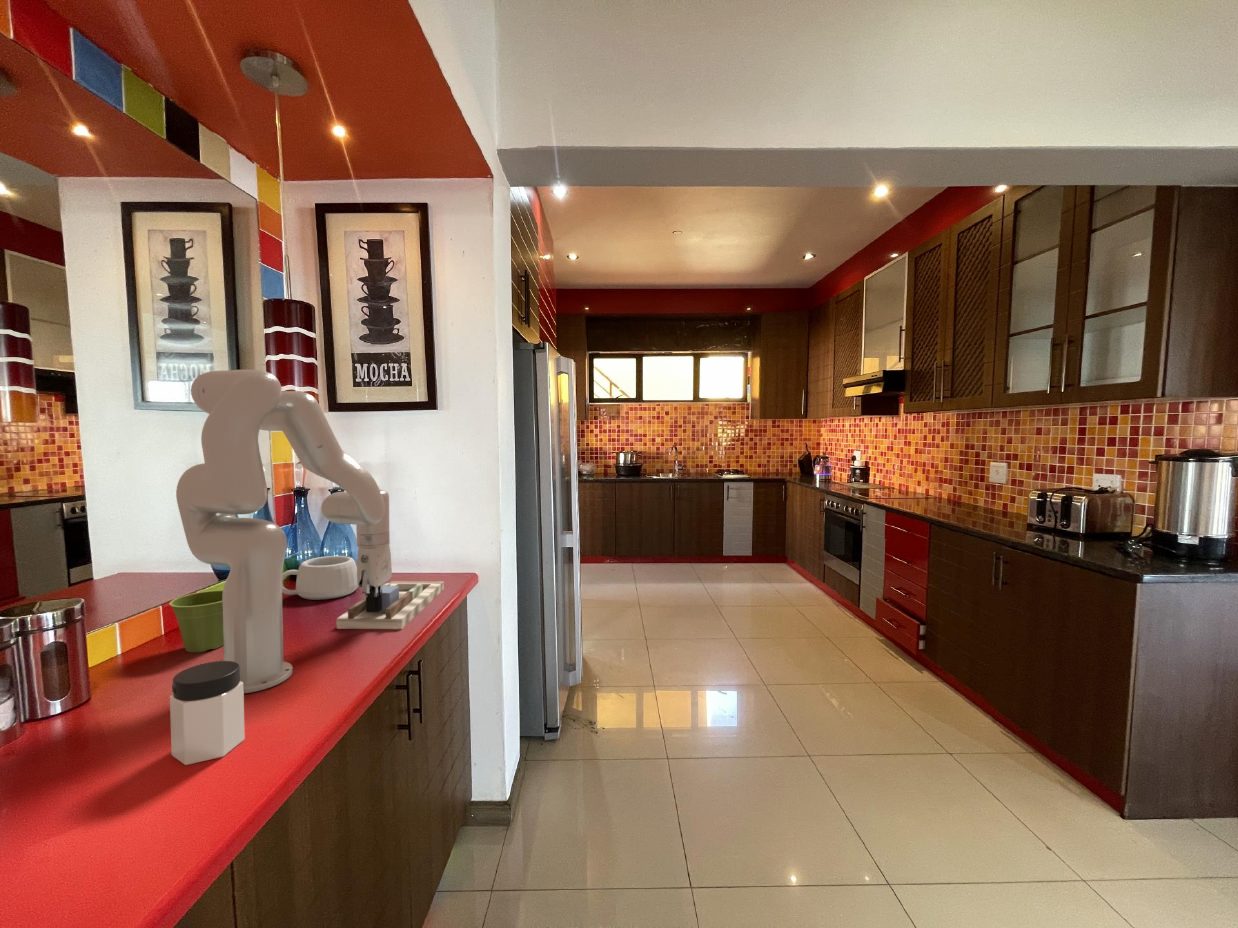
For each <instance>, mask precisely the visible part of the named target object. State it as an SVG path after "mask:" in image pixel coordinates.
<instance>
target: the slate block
mask: <svg viewBox="0 0 1238 928" xmlns="http://www.w3.org/2000/svg"><path fill="white" fill-rule="evenodd" d="M380 595H382V610H380V611H379V612H386V608H388V607H389V606H390V605H391V604H393V603H394V602H395V601H397V600H398V599H399V586H383V588H382V594H380ZM366 612H367V611H366Z"/></svg>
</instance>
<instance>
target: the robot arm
mask: <svg viewBox="0 0 1238 928" xmlns="http://www.w3.org/2000/svg"><path fill="white" fill-rule="evenodd" d="M190 394H191V399H192V400H193V401H194V403H195V404H196V406H197V407H198V408H199V409H201V410H202V411H203V412H205V413H206V414H208V416H207V418H206V419H205V421H204V423H203V425H202V430H201V436H200V437H201V439H200V440H201V448H202V453H203V460H204V463H200V464H199V463H197V464H196V465H192V466H191V467H190V468H188V469H186V470H185V471H184V472H183V473H182V475H181V476H180V478H179V480H178V482H177V486H176V490H175V491H176V492H175V496H176V502H177V503H176V504H177V507H178V513H179V515H180V519H181V523H182V528H183V531H184V535H185V539H186V542H187V543H186V544H187V545H188V548H189V550H190V552H191V554H192V555H193V556H194V557H195V558H196V559H197V560H198V561H199V562H201V563H204V564H207V565H212V566H220V567H227V568H230V569H229V570H230V571H229V573H228V576H227V578H226V580H225V583H224V584H223V589H222V590H223V594H222V606H223V638H224V645H223V659H220V660H219V661H232V662H236V663H238V664H239V666H240V681H241V682H243V692H244V694H249V693H255V692H259V691H260V692H261V691H263V690H268V689H269V688H273V687H274V686H278V685H279V684H281V683H283V682H285V681H287V680H288V679H289V678H290V677H291V676H292V674H293V669H294V668H293V665H292V664H291V663H289V662H287V661H284V635H283V634H284V633H283V632H284V628H283V625H284V624H283V623H284V622H283V593H282V574H283V569H284V562H285V557H286V552H287V548H288V547H287V546H288V540H287V539H288V538H287V536H286V534H285V533H286V532H285V531H284V530H283V529H282V528H281V527H280V526H279V525H278V524H276V523H275V522H273V521H270V520H266V519H263V518H262V519H261V518H251V517H249V518H248V517H238V516H237V517H236V515H248V514H249V515H250V514H253V513H256V512H258V511H260V510H261V509H262V508H263V507H265V505H266V503H267V501H268V494H269V493H268V485H267V481H266V475H265V471H264V467H263V461H262V457H261V452H260V444H259V434H260V431H268V432H269V431H270V432H282V433H283V435H284V436H285V438H286V439H287V441H288V443H289V445H290V446H291V448H292V450H293V452H294V454H295V455H296V457H297V459H298V461H299V462H300V464H301V466H302V467H303V468H304V469H305V470H306V471H309V472H310V473H312V474H314V475H316V476H318V477H320V478H323V479H325V480H327V481H330V482H331V483H334V484H336V485H337V486H338V487H339V488H341V489H342V490H344V491H336V492H333V493H331V494H329V495H327V496H326V497H325V498H324V499H323V501H322V503H321V509H320V510H321V514H322V516H323V517H324V518H325V519H326V520H327V521H328V522H331V523H335V524H340V525H341V524H342V525H356V526H355V527H356V547H357V548H358V549H357V558H356V559H357V561H356V566H357V584H358V587H359V588H361V594H364V595H365V597H366V611H367V612H379V611H380V610H382V595H380V594H382V588H383V585H384V584H386V582H388V581H389V580H391V578H392V576H393V571H392V570H393V569H392V555H391V547H390V543H391V541H390V539H391V538H390V535H391V534H390V494H389V492H388V491H387V490H385V489H380V487H379V486H378V483H377V481H376V480H375V478H374V477H373V476H372V474H370V472H369V471H368V470H367V469H366V468H365V467H364V466H362V465H361V464H360V463H359V462H358V461H356V460H355V459H354V458H353V457H352V456H350V455H349V454H347V453H346V452H345V451H344V450H343V449H342V447H341V445H340V444H339V441H338V438H337V437H336V436H335V434H334V431H333V430H332V428H331V426H330V423H329V421H328V420H327V418H326V415H325V414H324V411H323V410H322V407H321V406H320V403H319V402H318V400H317V399H316V397H314V396H313V395H311V394H310V393H308V392H304V391H295V390H291V391H290V390H282V385H281V383H280V381H279V379H278V378H277V377H276V376H275V375H274V374H272V373H270V372H268V371H264V370H262V369H260V370H259V369H232V370H213V371H212V370H211V371H210V370H209V371H207V372H204V373H201V374H199V375H198V376H197V377H196V378H195V379H194V380H193V381H192V384H191V385H190ZM365 597H364V598H365Z"/></svg>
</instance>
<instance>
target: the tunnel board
mask: <svg viewBox="0 0 1238 928" xmlns="http://www.w3.org/2000/svg"><path fill="white" fill-rule="evenodd" d="M383 586H399V599H398V600H397V601H395V602H394V603H393V604H391V605H390V606H389V607H388V608H386V612H366V597H363V598H361V599H360V600H359V601H358V602H356V603H355V604H353V605H351V606H350V607H349V608H347V611H346V612H344V613H343V614H341V615H340V616H338V617H337V618H336V629H339V630H342V629H343V630H347V629H348V630H349V629H350V630H352V629H353V630H354V629H355V630H356V629H357V630H364V629H365V630H403V629H404V628H405V627H406V626H407V625H408V624H409V623H410V622H411V621H412V620H413V619H414V618H415V617H416V616H417V615H419V614H420V613H421V612H422V611H423V610H424V609H425V608H426V607H427V606H428V605H429V604H430V603H431V602H432V601H434V599H436V597H438V596H439V595H440V594H441V592H443V591H444V590H445V589H444V587H445V581H426V580H425V581H424V580H421V581H419V580H415V581H413V580H412V581H410V580H392V581H389V582H387V583H386V582H385V583H383Z"/></svg>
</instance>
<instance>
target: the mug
mask: <svg viewBox="0 0 1238 928" xmlns="http://www.w3.org/2000/svg"><path fill="white" fill-rule="evenodd" d="M291 575H294V576H295V575H296V581H295V589H288V588H286V587H285V586H284V584H283V583H284V580H285V578H287V577H288V576H291ZM358 587H359V586H358V584H357V562H356V561H355V560H354V558H353V557H350V556H347V555H346V556H345V555H328V556H319V557H313V558H309V559H307V560H304V561H302V562H301V563H300V565H299V566H298V569H289V570H286V571H284V572H282V594H285V595H289V596H294V595H298V596H299V597H300V598H303V599H306V600H314V601H315V600H317V601H319V600H330V599H331V600H332V599H337V598H342V597H344V596H348V595H350V594H352V593H354V592H355V591H356V590H357V589H358Z"/></svg>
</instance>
